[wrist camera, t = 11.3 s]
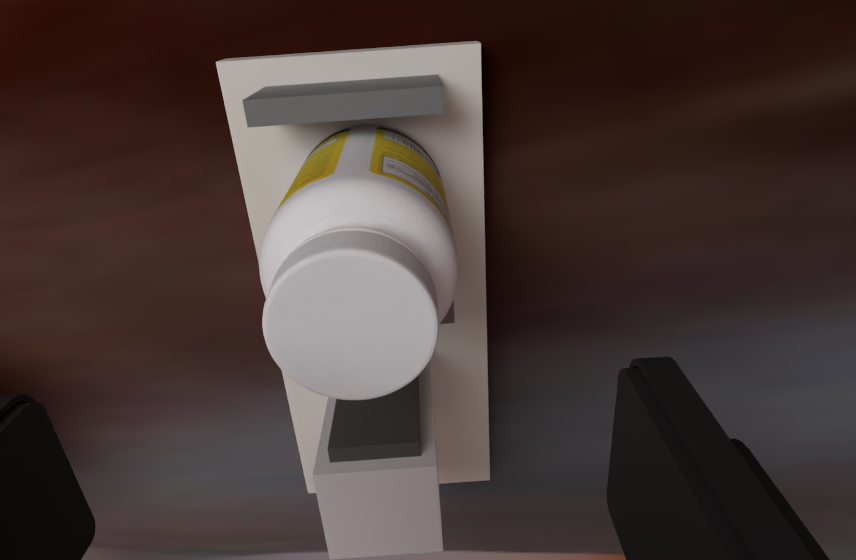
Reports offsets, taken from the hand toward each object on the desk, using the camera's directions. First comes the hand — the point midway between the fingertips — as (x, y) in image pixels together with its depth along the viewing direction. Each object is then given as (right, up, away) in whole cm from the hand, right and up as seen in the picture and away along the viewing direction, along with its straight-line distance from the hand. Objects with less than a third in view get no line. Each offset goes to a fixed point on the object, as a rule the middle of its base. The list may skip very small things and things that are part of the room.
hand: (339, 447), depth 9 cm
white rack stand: (-1, +2, +15) cm, 16 cm away
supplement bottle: (-1, +6, +12) cm, 14 cm away
